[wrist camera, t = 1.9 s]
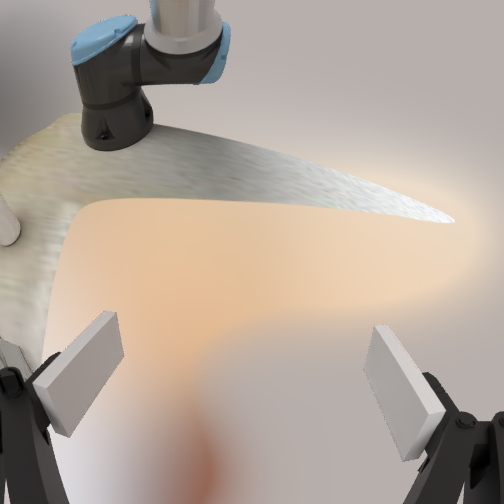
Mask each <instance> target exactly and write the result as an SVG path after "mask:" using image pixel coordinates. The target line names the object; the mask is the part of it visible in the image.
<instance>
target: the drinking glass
mask: <svg viewBox="0 0 504 504" xmlns="http://www.w3.org/2000/svg"><path fill="white" fill-rule="evenodd" d="M20 228H21V227H20V223H19V221H18V220H17V218H16V217H15V216H14V214H13V213H12V211H11V209H10V208H9V206H8V205H7V203H6V201H5V200H4V198H3V196H2V194H1V193H0V244H1V245H4V246H8V245H10V244H12V243H13V242H15V240H16V239H17V238H18V236H19V234H20Z"/></svg>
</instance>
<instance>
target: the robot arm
mask: <svg viewBox="0 0 504 504" xmlns="http://www.w3.org/2000/svg"><path fill="white" fill-rule="evenodd" d="M149 1H150V8H151V14H152V15H151V16H150V18H149V19H148V20H147V22H146V23H145V24H137V23H138V21H137V19H136V17H135V16H133V15H129V16H128V15H121V16H116V17H112V18H109V19H106V20H103V21H100V22H98V23H96V24H94V25H92V26H90V27H88V28H86V29H85V30H83V31H82V32H80V33H79V34H78V35H77V36H76V37H75V38H74V40H73V41H72V43H71V56H72V65H73V68H74V72H75V76H76V80H77V83H78V88H79V92H80V96H81V99H82V103H83V112H82V124H81V130H82V134H83V137H84V140H85V142H86V144H87V145H88V146H90V147H92V148H94V149H97V150H103V151H109V150H117V149H121V148H124V147H127V146H129V145H132V144H134V143H135V142H137V141H139V140H140V139H141V138H143V137H144V136H145V135H146V134H147V133H148V132H149V130H150V129H151V127H152V125H153V110H152V107H151V105H150V103H149V101H148V100H147V98H146V96H145V94H144V92H143V90H142V88H141V86H142V85H143V86H144V85H162V84H193V85H199V84H207V83H214V82H216V81H217V80H218V79H219V78H220V77H221V75H222V73H223V70H224V67H225V64H226V56H227V54H228V51H229V44H230V26H229V24H228V23H226V22H223V21H222V19H221V17H220V15H219V13H218V12H217V11H216V10H215V9H214V3H215V0H149ZM123 357H124V353H123V348H122V343H121V337H120V331H119V325H118V319H117V313H116V312H108V311H103V313H101V314H100V315H99V316H98V317H97V318H96V319H95V320H94V321H93V322H92V323H91V324H90V325H89V326H88V327H87V328H86V329H85V330H84V331H83V332H82V333H81V334H80V335H79V336H78V337H77V338H76V339H75V340H74V341H73V342H72V343H71V344H70V345H69V346H68V347H67V348H66V349H65V350H64V351H63V352H57V353H55V354H54V355H52V356H50V357H49V358H48V359H47V360H46V361H45V362H44V364H42V365H41V366H40V367H39V368H38V369H37V370H36V371H35V372H34V373H33V374H32V375H31V376H30V377H29V378H28V379H27V380H26V381H24V379H23V376H22V374H21V371H20V370H19V369H18V368H16V367H5V368H2V369H1V370H0V504H4V493H5V482H6V481H7V487H8V493H9V498H10V504H69V501H68V498H67V496H66V493H65V490H64V487H63V483H62V481H61V477H60V474H59V470H58V466H57V463H56V459H55V455H54V451H53V447H52V444H51V439H50V434H49V432H48V430H47V427H48V426H49V424H50V423H51V425H52V427H53V429H54V431H55V432H56V433H58V434H61V435H63V436H66V437H69V438H70V436H71V435H72V433H73V431H74V430H75V428H76V427H77V425H78V424H79V422H80V421H81V419H82V418H83V416H84V415H85V413H86V411H87V410H88V408H89V407H90V406H91V404H92V403H93V401H94V400H95V398H96V397H97V395H98V393H99V392H100V391H101V389H102V387H103V386H104V385H105V383H106V382H107V380H108V379H109V377H110V376H111V374H112V373H113V372H114V370H115V369H116V367H117V366H118V364H119V363H120V362H121V360H122V359H123ZM364 372H365V374H366V376H367V378H368V381H369V383H370V385H371V387H372V390H373V392H374V394H375V397H376V399H377V401H378V403H379V406H380V408H381V411H382V413H383V415H384V418H385V420H386V422H387V425H388V427H389V430H390V432H391V435H392V437H393V439H394V442H395V444H396V447H397V449H398V452H399V454H400V457H401V459H402V462H405V461H409V460H414V459H418V458H419V457H420V455H421V454H422V452H423V451H424V449H425V451H426V453H427V455H428V456H427V458H426V459H425V461H424V462H423V464H422V465H421V467H420V468H419V470H418V471H419V474H418V476H417V478H416V480H415V482H414V484H413V486H412V488H411V490H410V491H409V493H408V495H407V497H406V499H405V501H404V503H403V504H457V501H458V498H459V496H460V493H461V490H462V487H463V484H464V481H465V485H464V499H463V504H504V411H503V412H498V413H496V414H495V416H494V418H493V419H492V421H477V419H476V418H475V417H474V416H473V415H472V414H469V413H467V412H460V411H459V410H458V409H457V407H456V406H455V404H454V403H453V401H452V400H451V398H450V397H449V395H448V394H447V393H445V390H444V388H443V387H441V384H440V383H439V381H438V380H437V378H435V377H434V376H433V375H431V374H430V373H429V372H425V373H421V372H420V371H419V369H418V367H417V366H416V365H415V363H414V362H413V360H412V359H411V357H410V356H409V354H408V353H407V352H406V350H405V349H404V347H403V346H402V345H401V343H400V342H399V340H398V339H397V337H396V336H395V335H394V333H393V332H392V331H391V329H390V328H389V327H388V325H376V326H374V328H373V333H372V337H371V342H370V346H369V350H368V354H367V358H366V362H365V366H364Z"/></svg>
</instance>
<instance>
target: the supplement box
mask: <svg viewBox="0 0 504 504" xmlns="http://www.w3.org/2000/svg"><path fill="white" fill-rule="evenodd" d="M5 367H16V368H18V369H19V370H20V371H21V374H22V376H23V379H24V381H26V380H27V379H28V378H29V377H30V376H31V375H32V373H31V371H30V369H29V367H28V365H27V363H26V361H25V359H24V357H23V355H22V353H21V351H20V348H19V346H17V345H15V344H12V343H10V342H7V341H5V340H3V339H0V370H1V369H2V368H5Z"/></svg>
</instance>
